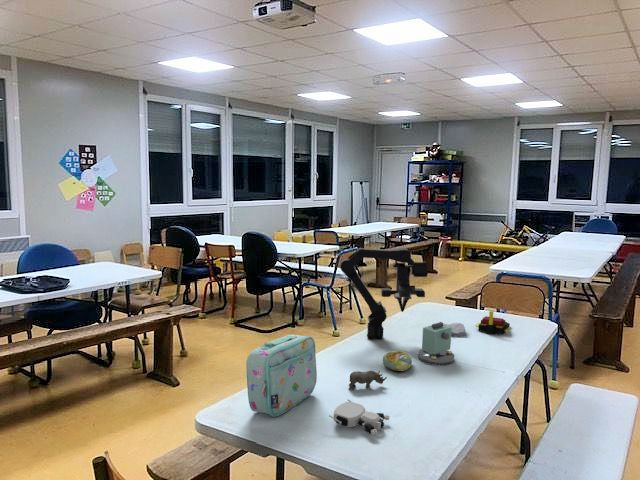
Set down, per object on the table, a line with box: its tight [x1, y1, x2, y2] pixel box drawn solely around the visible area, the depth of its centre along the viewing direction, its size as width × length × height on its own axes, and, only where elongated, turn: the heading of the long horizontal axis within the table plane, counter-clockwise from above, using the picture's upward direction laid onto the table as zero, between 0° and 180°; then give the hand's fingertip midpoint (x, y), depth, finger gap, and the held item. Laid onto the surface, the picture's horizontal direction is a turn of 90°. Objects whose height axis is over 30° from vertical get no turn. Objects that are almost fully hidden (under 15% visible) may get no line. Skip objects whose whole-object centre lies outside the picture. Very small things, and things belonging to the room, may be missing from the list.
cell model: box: [382, 350, 413, 372], centre depth 192 cm, size 11×8×15 cm
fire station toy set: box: [475, 310, 511, 336], centre depth 240 cm, size 14×20×11 cm
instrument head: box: [421, 321, 452, 354], centre depth 198 cm, size 8×10×11 cm
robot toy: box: [328, 398, 390, 435], centre depth 146 cm, size 12×4×15 cm
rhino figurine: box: [348, 369, 388, 391], centre depth 173 cm, size 4×14×6 cm, turn 102°
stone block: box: [442, 322, 467, 337], centre depth 234 cm, size 12×5×10 cm
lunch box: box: [245, 333, 318, 418], centre depth 158 cm, size 27×10×21 cm, turn 148°
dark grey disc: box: [417, 348, 455, 366], centre depth 200 cm, size 14×14×3 cm
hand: (402, 311), depth 225 cm, fingers closed
